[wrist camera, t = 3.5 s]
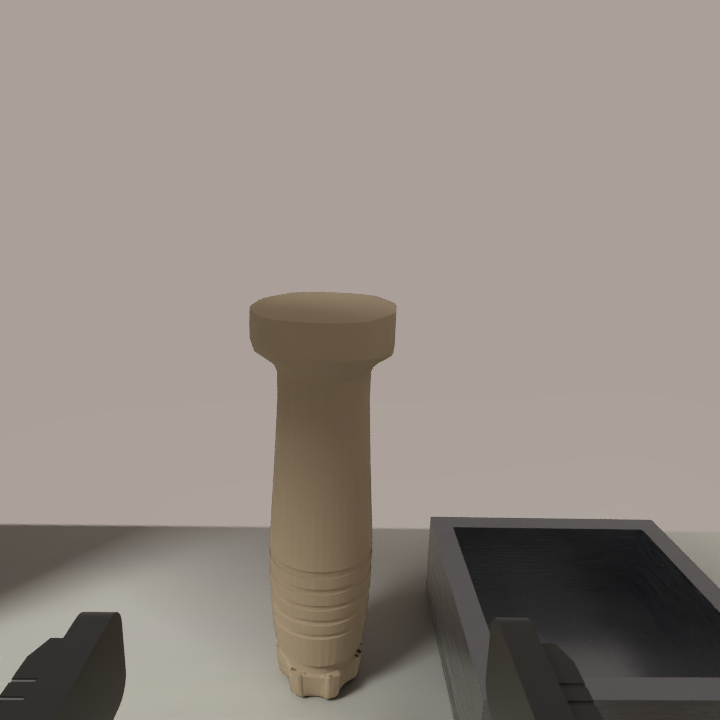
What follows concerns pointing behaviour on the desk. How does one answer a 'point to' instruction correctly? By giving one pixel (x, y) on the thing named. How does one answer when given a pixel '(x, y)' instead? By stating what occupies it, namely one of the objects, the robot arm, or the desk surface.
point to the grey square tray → (579, 610)
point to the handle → (321, 477)
